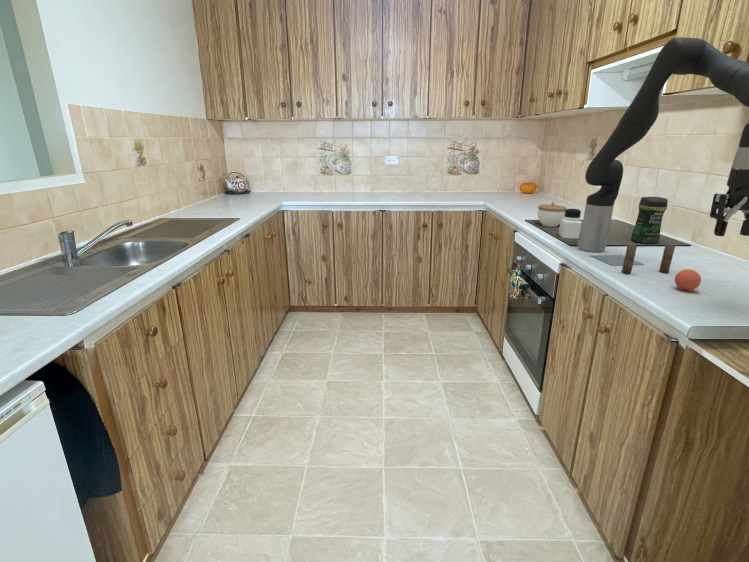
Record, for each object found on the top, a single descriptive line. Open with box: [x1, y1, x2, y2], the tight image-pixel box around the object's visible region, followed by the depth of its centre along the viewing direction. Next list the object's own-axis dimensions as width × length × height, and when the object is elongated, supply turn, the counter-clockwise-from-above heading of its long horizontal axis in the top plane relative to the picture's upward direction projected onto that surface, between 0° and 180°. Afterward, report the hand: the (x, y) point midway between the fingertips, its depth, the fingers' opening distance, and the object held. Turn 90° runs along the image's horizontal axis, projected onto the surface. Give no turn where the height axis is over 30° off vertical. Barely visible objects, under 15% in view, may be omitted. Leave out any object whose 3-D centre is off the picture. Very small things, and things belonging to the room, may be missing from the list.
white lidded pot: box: [537, 201, 568, 228], centre depth 205 cm, size 13×13×11 cm
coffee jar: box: [630, 196, 669, 244], centre depth 174 cm, size 10×8×19 cm
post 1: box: [621, 244, 638, 275], centre depth 134 cm, size 3×3×9 cm
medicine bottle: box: [558, 208, 583, 240], centre depth 182 cm, size 7×7×12 cm
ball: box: [674, 268, 702, 291], centre depth 121 cm, size 6×6×6 cm
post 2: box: [658, 243, 676, 274], centre depth 136 cm, size 3×3×9 cm
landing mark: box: [590, 254, 645, 267], centre depth 150 cm, size 12×12×1 cm
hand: (731, 235), depth 107 cm, fingers open, 6 cm apart
